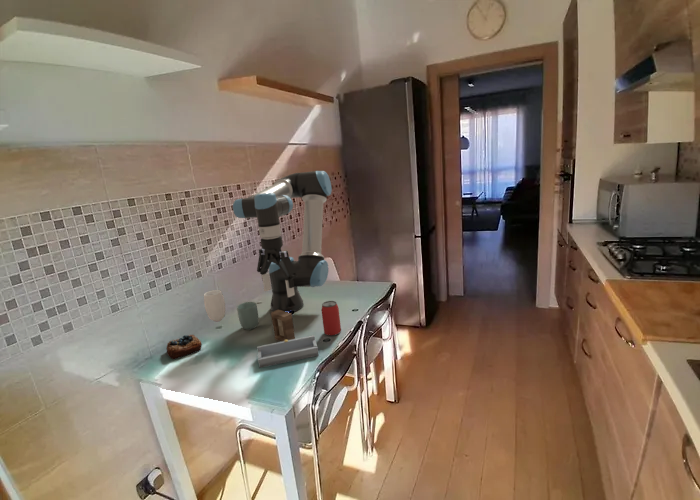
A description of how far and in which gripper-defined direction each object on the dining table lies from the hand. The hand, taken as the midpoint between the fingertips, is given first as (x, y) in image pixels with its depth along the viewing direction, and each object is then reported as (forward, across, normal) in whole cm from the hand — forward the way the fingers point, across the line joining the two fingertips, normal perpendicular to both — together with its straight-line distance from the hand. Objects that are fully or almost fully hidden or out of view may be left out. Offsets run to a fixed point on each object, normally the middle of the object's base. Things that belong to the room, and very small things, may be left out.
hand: (279, 293), depth 137 cm
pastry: (+19, -28, -26) cm, 43 cm away
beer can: (+19, +12, +14) cm, 26 cm away
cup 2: (+19, -22, -1) cm, 29 cm away
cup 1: (+19, -21, -15) cm, 32 cm away
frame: (+19, 0, 0) cm, 19 cm away
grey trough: (+19, +11, -8) cm, 23 cm away
